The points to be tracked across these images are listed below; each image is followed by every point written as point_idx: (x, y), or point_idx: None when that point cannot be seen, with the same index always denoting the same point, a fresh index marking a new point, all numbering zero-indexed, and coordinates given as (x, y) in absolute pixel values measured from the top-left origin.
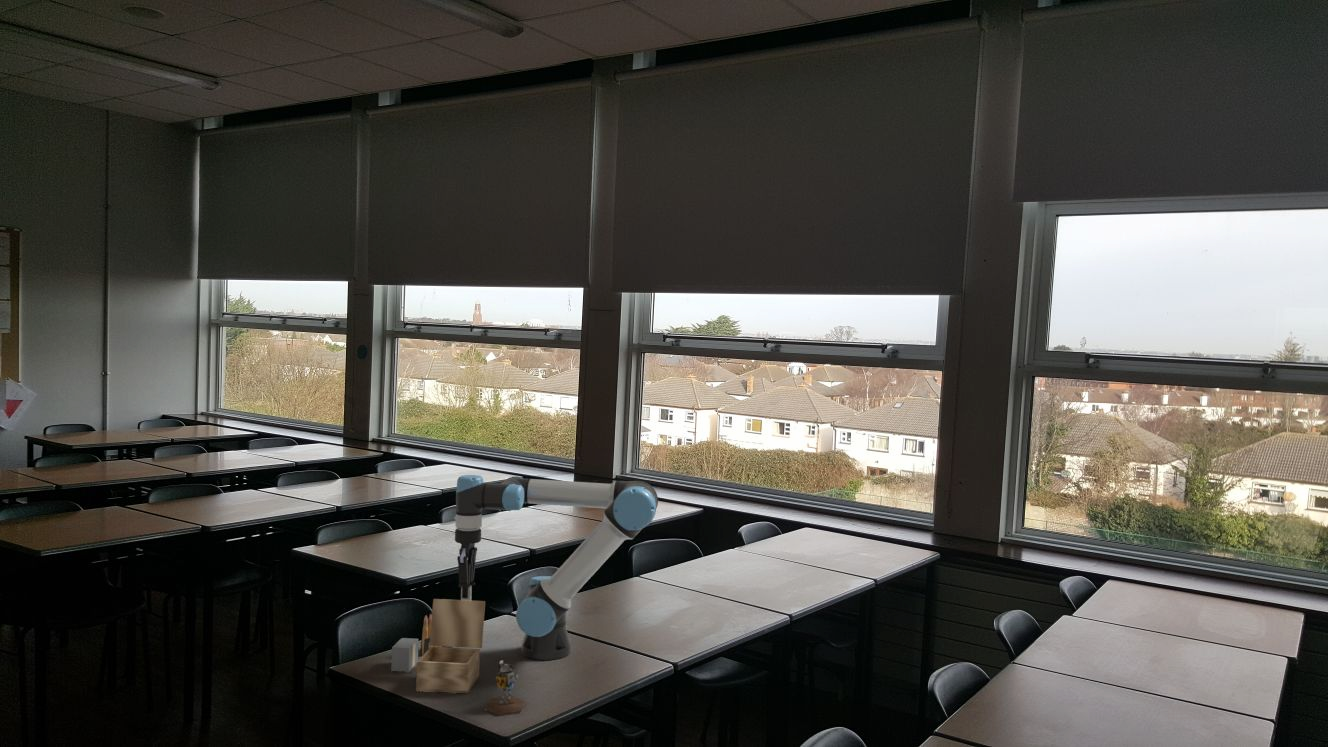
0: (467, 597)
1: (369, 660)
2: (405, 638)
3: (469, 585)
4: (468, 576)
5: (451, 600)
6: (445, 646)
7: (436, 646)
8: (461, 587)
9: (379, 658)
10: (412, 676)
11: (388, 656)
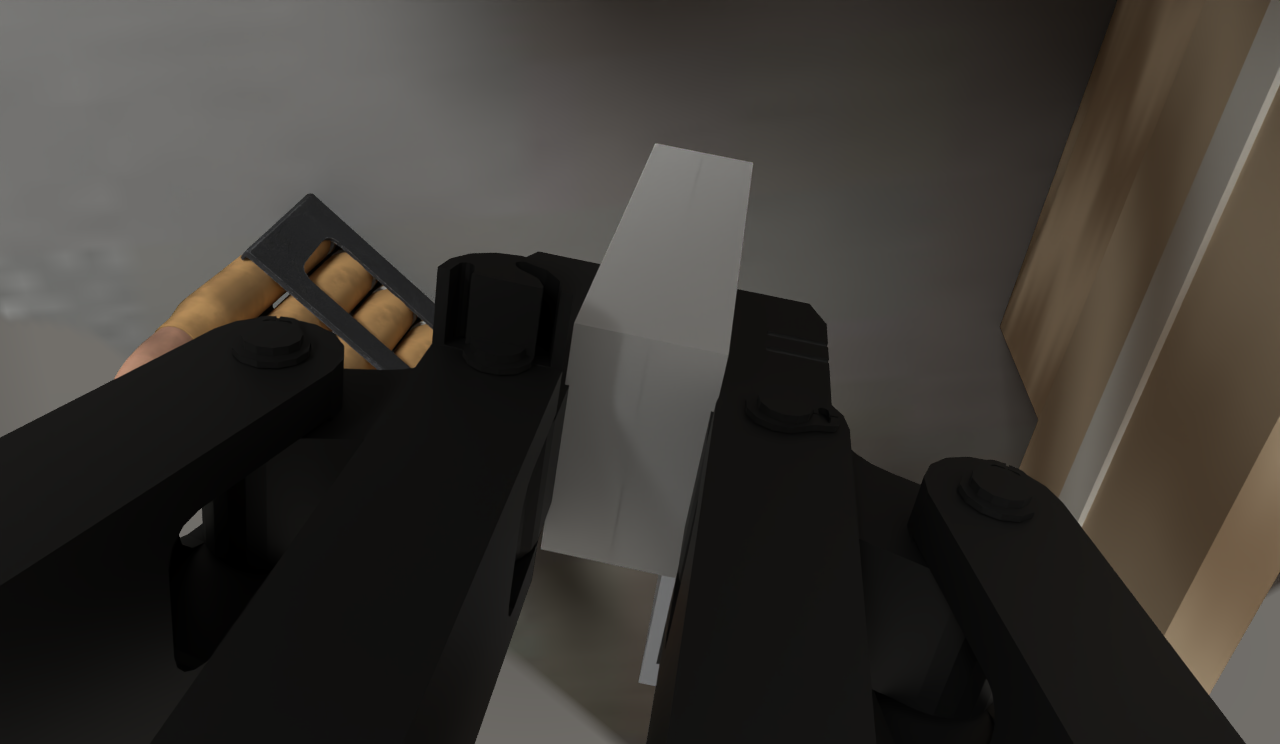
0: (767, 298)
1: (638, 728)
2: (651, 656)
3: (815, 412)
4: (864, 660)
5: (1238, 638)
6: (364, 259)
7: (431, 340)
8: (676, 555)
9: (599, 678)
10: (1011, 452)
11: (558, 631)
